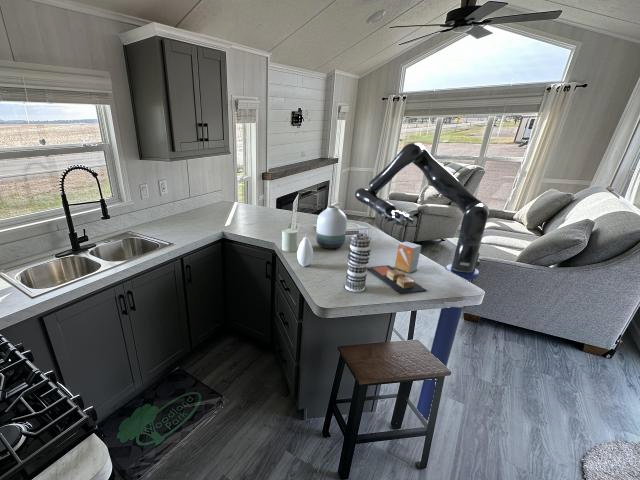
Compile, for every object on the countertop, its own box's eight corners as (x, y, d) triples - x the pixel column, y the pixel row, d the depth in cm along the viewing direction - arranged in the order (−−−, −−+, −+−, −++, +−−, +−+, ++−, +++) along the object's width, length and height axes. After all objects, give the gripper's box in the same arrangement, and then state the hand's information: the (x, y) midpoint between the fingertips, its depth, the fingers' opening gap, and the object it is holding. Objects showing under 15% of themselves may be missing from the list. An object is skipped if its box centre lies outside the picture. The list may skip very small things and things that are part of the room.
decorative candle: (345, 291, 144) (351, 237, 134) (343, 282, 152) (348, 231, 142) (367, 293, 142) (374, 238, 132) (363, 283, 151) (370, 231, 141)
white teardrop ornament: (293, 265, 172) (295, 233, 165) (303, 261, 177) (305, 229, 170) (305, 270, 167) (307, 236, 160) (315, 265, 171) (317, 232, 164)
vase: (331, 253, 187) (335, 211, 178) (309, 245, 200) (311, 206, 190) (350, 246, 196) (354, 206, 186) (328, 239, 209) (330, 202, 199)
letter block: (406, 282, 149) (407, 276, 148) (413, 287, 145) (414, 281, 144) (396, 283, 149) (397, 277, 147) (403, 288, 144) (404, 282, 143)
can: (299, 247, 197) (299, 228, 192) (294, 252, 190) (295, 232, 185) (284, 245, 201) (284, 227, 196) (279, 250, 193) (279, 231, 188)
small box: (394, 267, 166) (398, 243, 160) (402, 264, 169) (406, 240, 163) (409, 273, 159) (413, 248, 154) (416, 270, 162) (421, 245, 157)
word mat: (388, 266, 168) (388, 265, 167) (425, 290, 142) (426, 289, 142) (366, 268, 166) (367, 267, 166) (400, 294, 141) (401, 292, 140)
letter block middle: (396, 275, 157) (397, 269, 155) (402, 279, 152) (403, 273, 151) (386, 276, 156) (387, 270, 155) (392, 280, 151) (393, 274, 150)
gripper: (375, 202, 167) (398, 217, 155) (396, 201, 172) (420, 215, 160) (370, 215, 172) (392, 230, 160) (391, 213, 177) (413, 228, 165)
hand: (406, 222), depth 160 cm, fingers open, 8 cm apart
